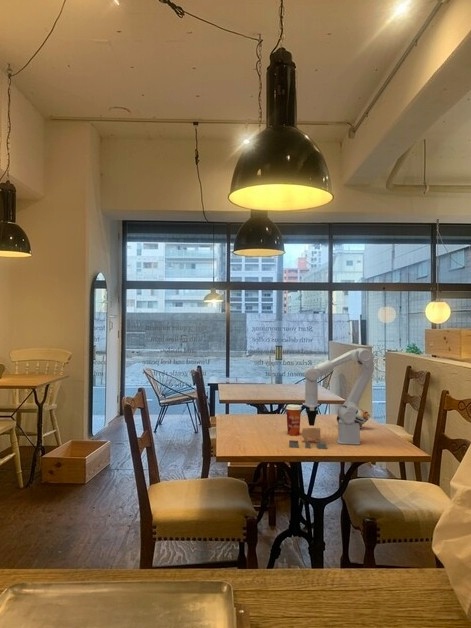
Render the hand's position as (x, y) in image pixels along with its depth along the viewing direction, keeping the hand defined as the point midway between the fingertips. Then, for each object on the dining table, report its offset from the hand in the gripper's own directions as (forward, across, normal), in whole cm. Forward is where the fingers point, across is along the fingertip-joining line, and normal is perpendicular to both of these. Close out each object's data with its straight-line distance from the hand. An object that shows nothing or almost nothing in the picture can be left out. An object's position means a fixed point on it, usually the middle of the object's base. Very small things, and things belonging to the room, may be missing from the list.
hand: (311, 423), depth 199 cm
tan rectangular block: (+8, 0, 0) cm, 8 cm away
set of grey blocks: (+8, +9, -2) cm, 12 cm away
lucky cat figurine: (+8, -33, +23) cm, 41 cm away
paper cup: (+8, -13, -8) cm, 17 cm away
